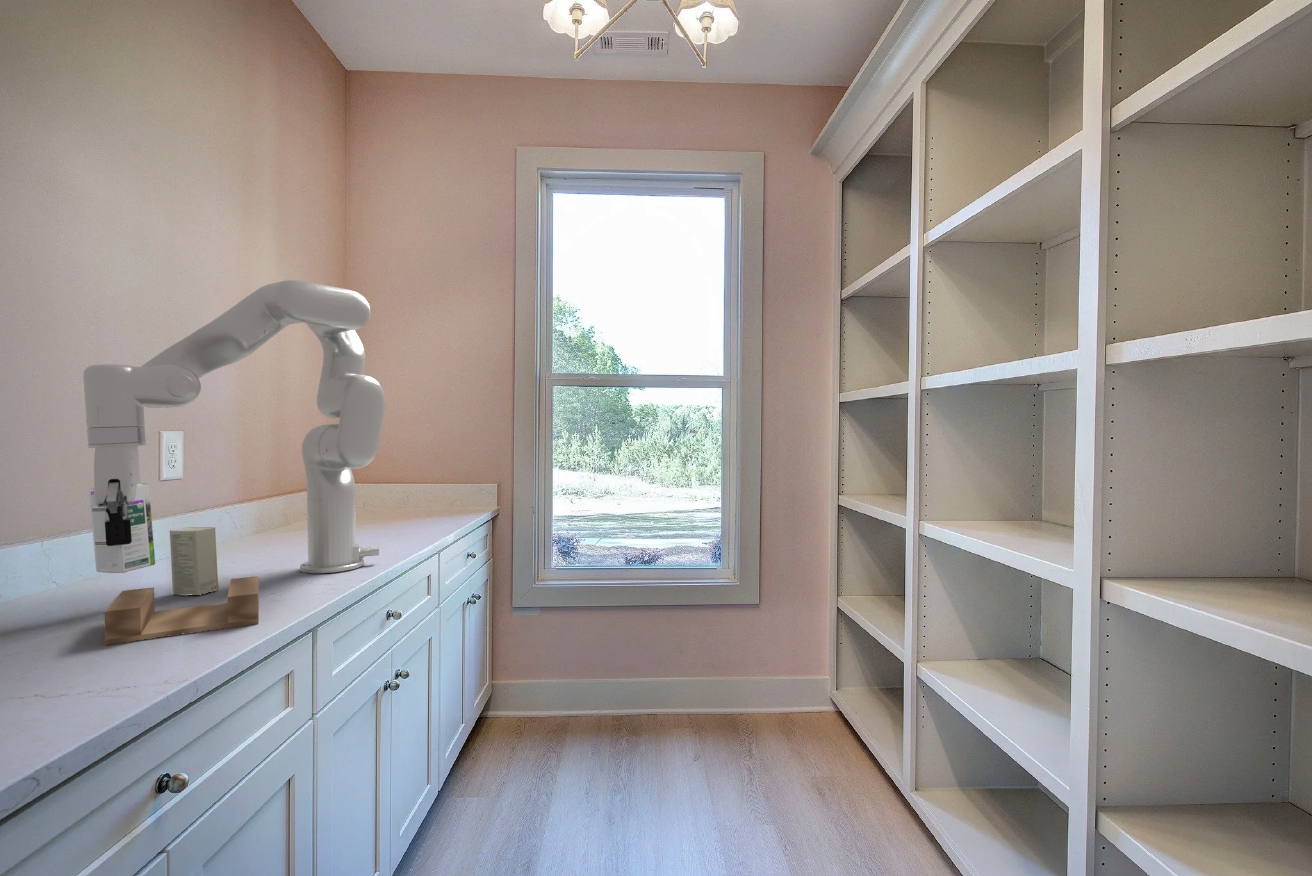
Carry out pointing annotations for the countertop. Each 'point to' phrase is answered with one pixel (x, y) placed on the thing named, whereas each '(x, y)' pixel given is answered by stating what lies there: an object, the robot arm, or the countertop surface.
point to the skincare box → (194, 560)
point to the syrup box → (141, 533)
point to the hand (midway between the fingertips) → (123, 540)
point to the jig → (179, 614)
